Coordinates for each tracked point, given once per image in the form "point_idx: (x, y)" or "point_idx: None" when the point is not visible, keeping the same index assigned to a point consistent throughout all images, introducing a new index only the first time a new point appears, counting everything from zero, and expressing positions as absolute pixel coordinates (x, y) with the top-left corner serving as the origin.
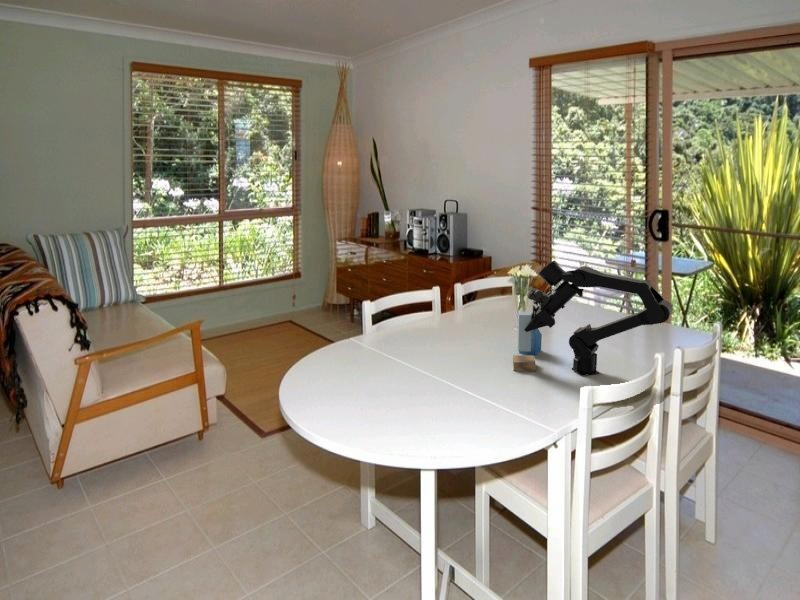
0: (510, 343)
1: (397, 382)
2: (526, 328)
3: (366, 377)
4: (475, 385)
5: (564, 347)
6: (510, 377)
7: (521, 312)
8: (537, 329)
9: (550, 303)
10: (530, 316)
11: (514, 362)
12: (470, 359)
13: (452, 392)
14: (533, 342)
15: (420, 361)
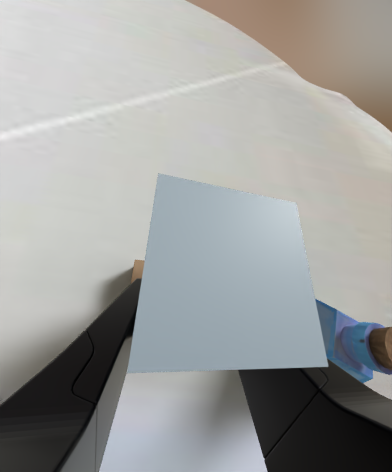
0: (330, 283)
1: (95, 55)
2: (126, 291)
3: (127, 33)
4: (40, 160)
5: None
6: (82, 249)
7: (277, 229)
8: (364, 375)
9: None
10: (131, 346)
11: (134, 262)
12: (216, 183)
13: (6, 111)
14: None
15: (201, 107)
